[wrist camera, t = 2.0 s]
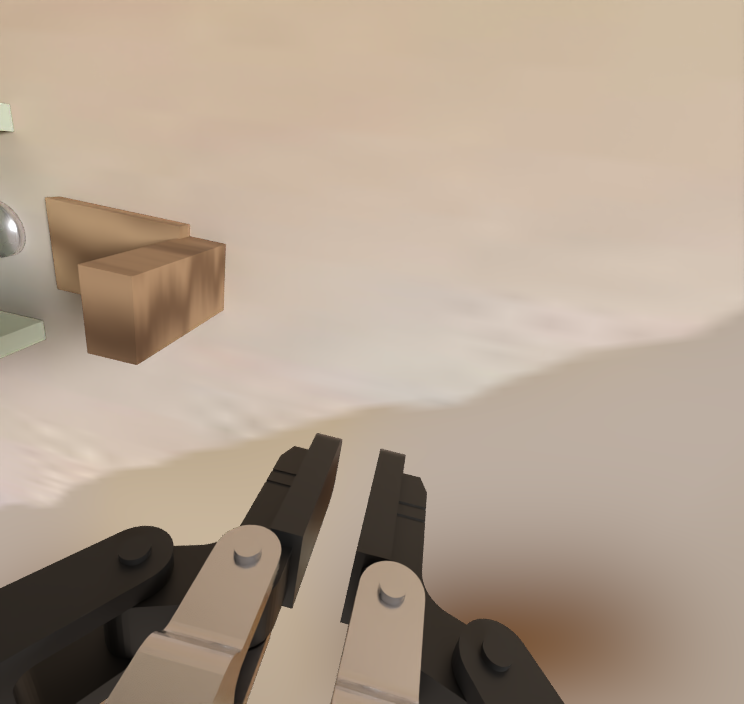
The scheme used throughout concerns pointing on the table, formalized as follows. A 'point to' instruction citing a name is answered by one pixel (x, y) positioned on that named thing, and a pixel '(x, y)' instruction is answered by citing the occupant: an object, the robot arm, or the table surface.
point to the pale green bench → (6, 329)
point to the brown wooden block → (134, 276)
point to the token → (10, 232)
